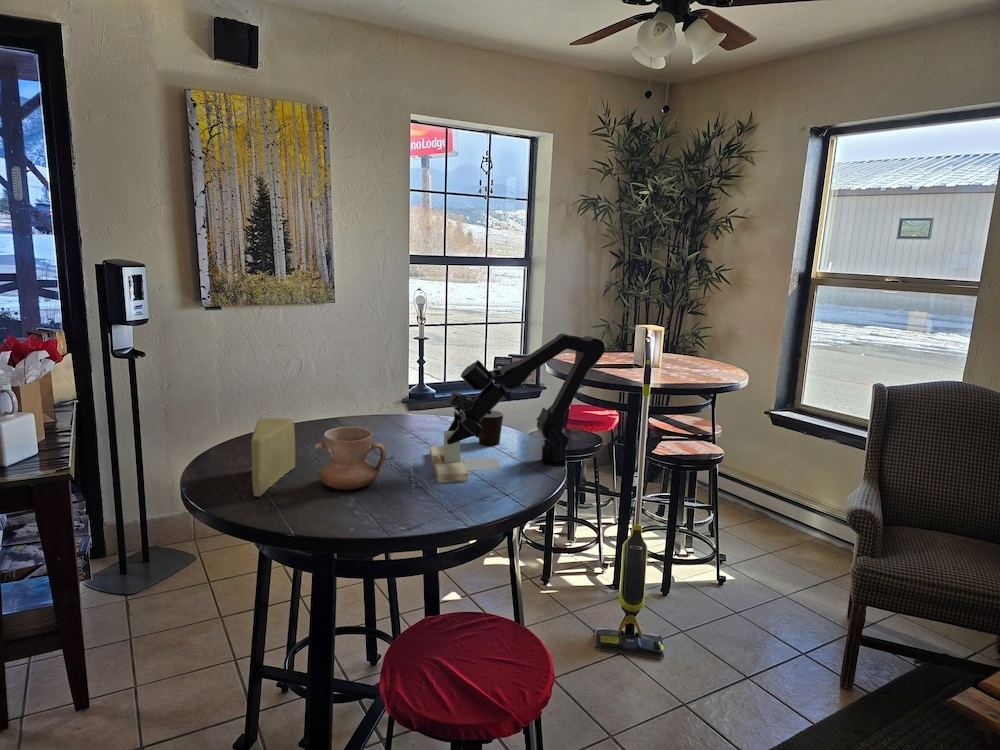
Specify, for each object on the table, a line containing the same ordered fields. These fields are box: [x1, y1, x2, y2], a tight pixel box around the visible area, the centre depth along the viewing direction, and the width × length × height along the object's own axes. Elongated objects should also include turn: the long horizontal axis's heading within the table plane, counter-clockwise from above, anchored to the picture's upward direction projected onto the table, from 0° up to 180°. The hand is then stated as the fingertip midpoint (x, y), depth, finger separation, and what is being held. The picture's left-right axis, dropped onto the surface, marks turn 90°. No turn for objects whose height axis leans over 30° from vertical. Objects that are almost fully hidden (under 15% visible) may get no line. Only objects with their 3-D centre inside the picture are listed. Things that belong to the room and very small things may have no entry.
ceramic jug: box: [314, 425, 387, 491], centre depth 167 cm, size 18×14×14 cm
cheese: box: [250, 417, 296, 497], centre depth 167 cm, size 22×10×15 cm, turn 5°
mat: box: [462, 457, 503, 472], centre depth 186 cm, size 10×10×1 cm
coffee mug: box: [478, 409, 504, 447], centre depth 206 cm, size 12×9×10 cm
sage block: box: [443, 430, 461, 463], centre depth 182 cm, size 4×4×10 cm
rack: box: [429, 445, 469, 483], centre depth 183 cm, size 8×24×2 cm, turn 11°
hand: (446, 440), depth 181 cm, fingers open, 5 cm apart
